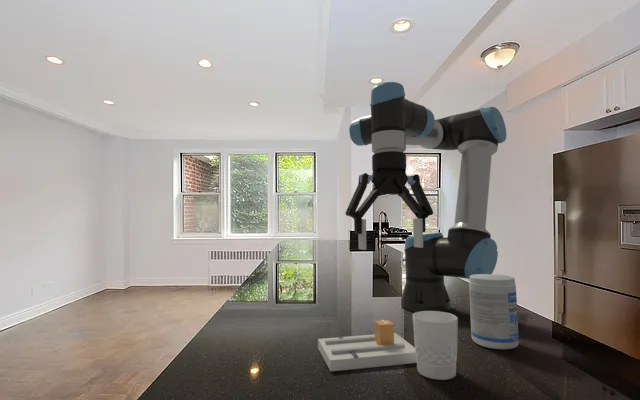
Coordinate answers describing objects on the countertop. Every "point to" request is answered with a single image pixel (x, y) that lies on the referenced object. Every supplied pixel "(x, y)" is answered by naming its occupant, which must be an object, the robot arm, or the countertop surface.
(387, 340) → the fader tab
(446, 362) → the white cup
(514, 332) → the supplement tub
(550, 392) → the countertop surface
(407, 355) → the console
